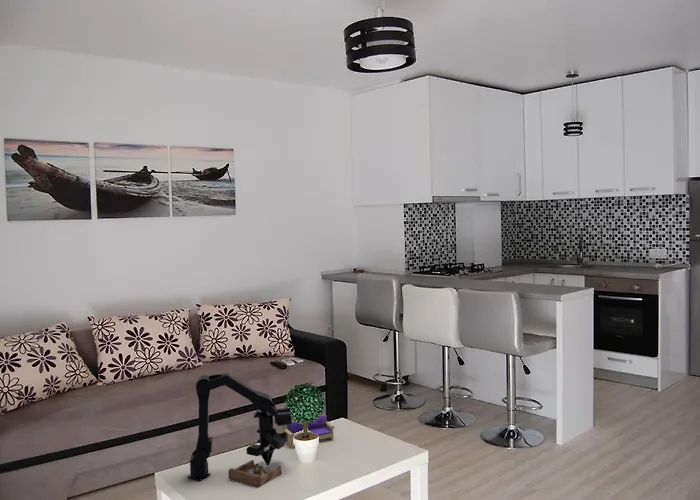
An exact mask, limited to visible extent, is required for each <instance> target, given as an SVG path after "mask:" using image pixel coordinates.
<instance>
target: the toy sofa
mask: <svg viewBox="0 0 700 500" xmlns="http://www.w3.org/2000/svg"><path fill="white" fill-rule="evenodd" d="M321 414H322V415H321ZM321 414H320V415H321V416H320V417H319V418H318V419H317V420H316V421H315V422H312V423H309V424H308V430H309V431H311V432H313V433H316V434H318V436H319V439H320V440H324V439H329V440H331V441H334V440H335V438H334V429H335V425H333V424H332V423H330V422H329V421H327V417H328V416H327V414H325V413H321ZM294 421H295V420H292V425H286V428H284V431H283V432H286V433H287V435H288V441H287V442H285V444H287V445H288V446H289V448H291V449H295V445H294V446H293V437H294V433H296V432H299V431H302V430H303V425H302V424H298V423H296V422H294Z"/></svg>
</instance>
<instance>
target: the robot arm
mask: <svg viewBox="0 0 700 500" xmlns="http://www.w3.org/2000/svg"><path fill="white" fill-rule="evenodd" d="M223 386H226V387H227V388H228V389H230V390H232V391H233V392H235V393H237V394H239V395H240V396H242V397H243V398H245V399H247V400H248V401H249V402H250V403H252V405H253V406H255V408H256V409H257V410H256V411H255V412H254V413H253V418H254V419H255V418H256V419H257V418H258V429H256V433H258V435H259V439H257V443H259V444H257V443H253V444H251V445H248V446H247V447H246V448H245V449H246V450H245V451H246V455H249V456H253V457H260V456H261V458H262V459H263V462H264V463H265V466H270V465H271V462H272V457H273V454H274V451H275V450H280V449H281V448H284V447H285V446H286V442H287V441H288V435H287V433H286V432H285V431H283V432H282V433H281V432H277V428H274V424H276V426H277V427H279V426H280V427H281V426H287V425H292V421H293V419H292V415H291V414H292V412H291V407H290V408H288V407H283V408H278V407H277V406H276V405H275V404H274V402H273V400H272V397H271V396H270V395H269V394H267V393H265V392H262V391H258V390H255V389H253V388H251V387H250V386H248V385H246V384H245V383H243V382H242V381H240V380H238V379H237V378H235V377H234V376H232V375H231V374H230V373H228V372H224V373H220V374H211V375H207V374H203V375H200V376H199V377H198V378H197V380H196V384H195V392H196V395H197V398H198V435H197V436H198V437H197V442H196V447H195V449H194V450H193V452H192V453H191V456H190V460H189V467H190V468H189V469H190V471H189V472H190V475H188V476H187V479H190V480H192V481H193V480H194V481H196V482H201V481H202V480H204V479H207V478H208V477H210V476H212V473H210V472H209V463H208V458H210V455H211V453H212V452H213V447H214V445H213V438H214V437H213V436H210V434H209V399H210V394H211V390H215V389H217V388H220V387H223Z"/></svg>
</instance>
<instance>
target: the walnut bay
mask: <svg viewBox="0 0 700 500" xmlns="http://www.w3.org/2000/svg"><path fill="white" fill-rule="evenodd" d="M248 464H250V465H251V466H253V464H255V461H254V460H253V459H251V460H249V461H247V462H245V463H243V464H242V465H239V466H238V467H236V468H229V469H228V480H229V479H230V480H229V481H232V480H234V481H233V482H236V481H238V482H237V483H240V482H242V483H241V484H244V485H247V484H248V485H249V486H252V487H255V488H260V487H262V486H263V485H265V484H267V483H268V482H270V481H272V480H273V479H276V478H278V476H280V475H282V467H281V466H276V467H275V468H274V469H271V470H270V471H268V472H266V474H264V475H263V476H261V475H257V474H253V472H252V473H251V472H249V471H250V470H253V468H251V467H250V466H249V465H248Z"/></svg>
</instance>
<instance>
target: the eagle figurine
mask: <svg viewBox="0 0 700 500" xmlns="http://www.w3.org/2000/svg"><path fill="white" fill-rule="evenodd" d="M248 465H249V466H250V467H251V468H252V473H253V474H257V475H261V476H263V475H264V474H266V473H267V472H266V470H264V469H266V463H265V461H259V462H257V463H254V464H253V466H251V465H250V464H248Z"/></svg>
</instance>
